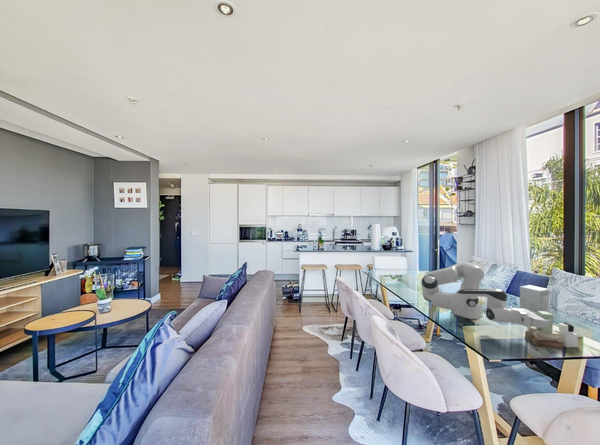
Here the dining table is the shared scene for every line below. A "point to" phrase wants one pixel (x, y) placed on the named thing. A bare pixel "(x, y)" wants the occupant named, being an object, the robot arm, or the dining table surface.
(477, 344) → the dining table surface
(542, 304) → the supplement box
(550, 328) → the sage block
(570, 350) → the dining table surface
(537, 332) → the tower top
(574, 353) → the dining table surface
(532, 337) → the tower base
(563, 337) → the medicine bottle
